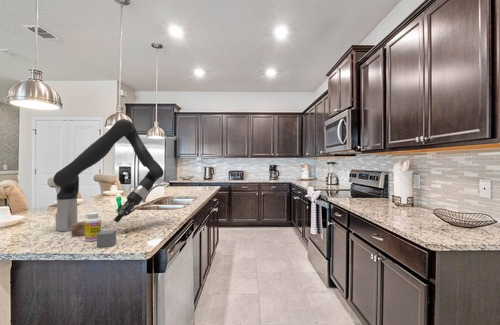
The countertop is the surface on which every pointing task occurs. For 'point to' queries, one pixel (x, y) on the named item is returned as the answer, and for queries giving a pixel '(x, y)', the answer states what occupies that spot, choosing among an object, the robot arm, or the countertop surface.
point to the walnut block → (78, 229)
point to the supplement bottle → (92, 226)
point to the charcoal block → (106, 238)
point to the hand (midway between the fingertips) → (115, 221)
